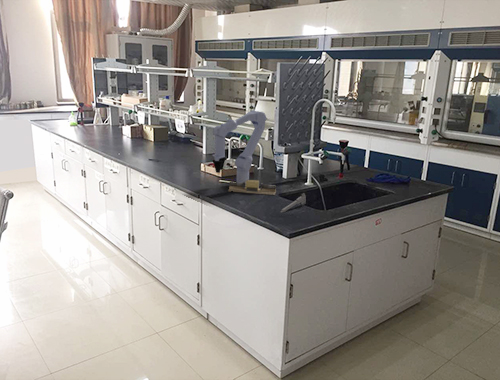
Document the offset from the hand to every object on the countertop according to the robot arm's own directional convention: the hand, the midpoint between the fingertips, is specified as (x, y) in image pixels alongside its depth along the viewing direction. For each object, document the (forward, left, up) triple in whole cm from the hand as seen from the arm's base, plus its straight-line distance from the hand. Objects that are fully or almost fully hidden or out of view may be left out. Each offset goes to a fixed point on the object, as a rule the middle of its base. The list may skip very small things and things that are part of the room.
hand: (219, 171), depth 236 cm
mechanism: (+4, +20, -9) cm, 22 cm away
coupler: (+4, +20, -8) cm, 22 cm away
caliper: (+28, +44, -10) cm, 53 cm away
